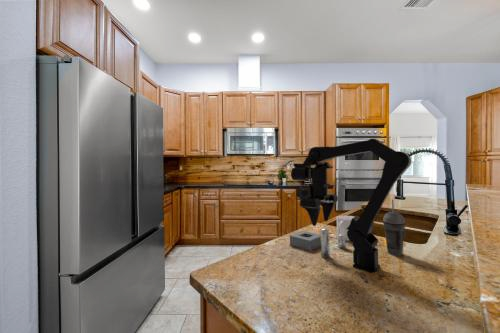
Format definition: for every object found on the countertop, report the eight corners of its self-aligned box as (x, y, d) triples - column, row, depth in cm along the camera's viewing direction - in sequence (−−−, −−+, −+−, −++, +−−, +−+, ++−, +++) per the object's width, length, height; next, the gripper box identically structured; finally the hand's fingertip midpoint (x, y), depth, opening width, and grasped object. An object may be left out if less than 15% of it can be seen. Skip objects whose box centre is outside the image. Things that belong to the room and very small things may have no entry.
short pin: (347, 247, 93) (346, 235, 93) (343, 249, 91) (343, 236, 91) (339, 245, 95) (339, 233, 95) (336, 247, 93) (336, 235, 93)
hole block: (323, 244, 97) (323, 235, 97) (310, 250, 90) (310, 240, 90) (303, 239, 104) (303, 230, 104) (289, 244, 97) (289, 235, 97)
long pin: (331, 256, 84) (330, 229, 84) (327, 258, 82) (326, 230, 82) (323, 254, 86) (323, 227, 86) (319, 256, 84) (318, 229, 84)
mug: (346, 234, 111) (345, 214, 111) (363, 239, 103) (362, 218, 103) (328, 238, 105) (327, 217, 105) (344, 243, 97) (343, 221, 97)
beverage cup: (385, 255, 83) (383, 200, 83) (382, 249, 90) (380, 198, 90) (408, 258, 80) (407, 201, 81) (403, 251, 87) (402, 198, 87)
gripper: (311, 179, 97) (312, 216, 97) (286, 182, 83) (287, 224, 83) (337, 179, 89) (338, 219, 89) (314, 182, 76) (315, 230, 76)
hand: (320, 223), depth 84 cm, fingers open, 9 cm apart
